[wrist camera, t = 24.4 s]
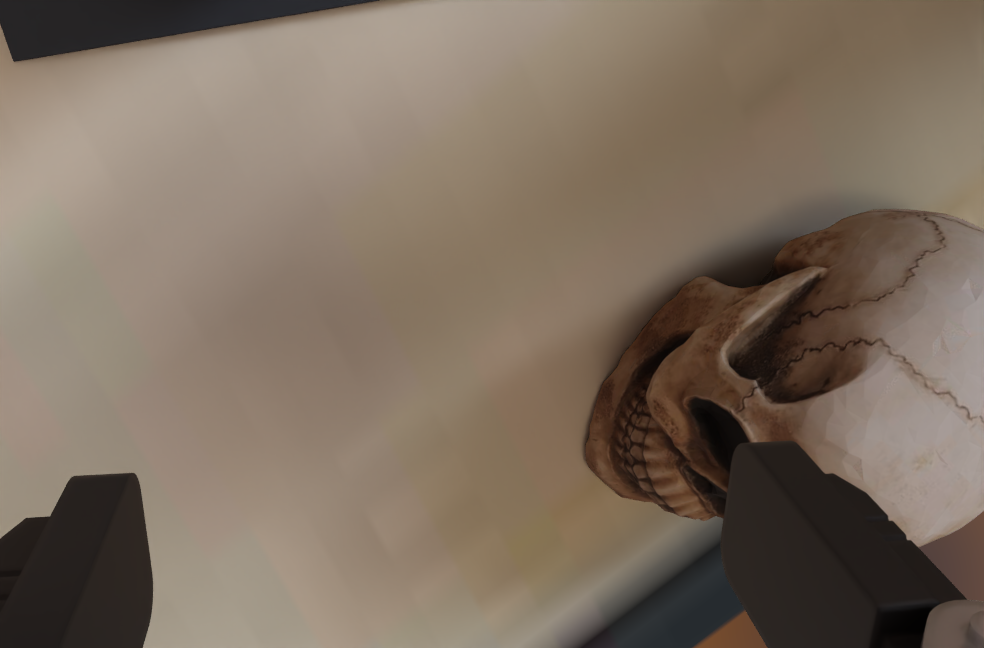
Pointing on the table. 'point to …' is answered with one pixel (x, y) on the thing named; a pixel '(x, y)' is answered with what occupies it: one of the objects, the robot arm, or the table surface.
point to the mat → (130, 20)
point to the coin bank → (816, 375)
